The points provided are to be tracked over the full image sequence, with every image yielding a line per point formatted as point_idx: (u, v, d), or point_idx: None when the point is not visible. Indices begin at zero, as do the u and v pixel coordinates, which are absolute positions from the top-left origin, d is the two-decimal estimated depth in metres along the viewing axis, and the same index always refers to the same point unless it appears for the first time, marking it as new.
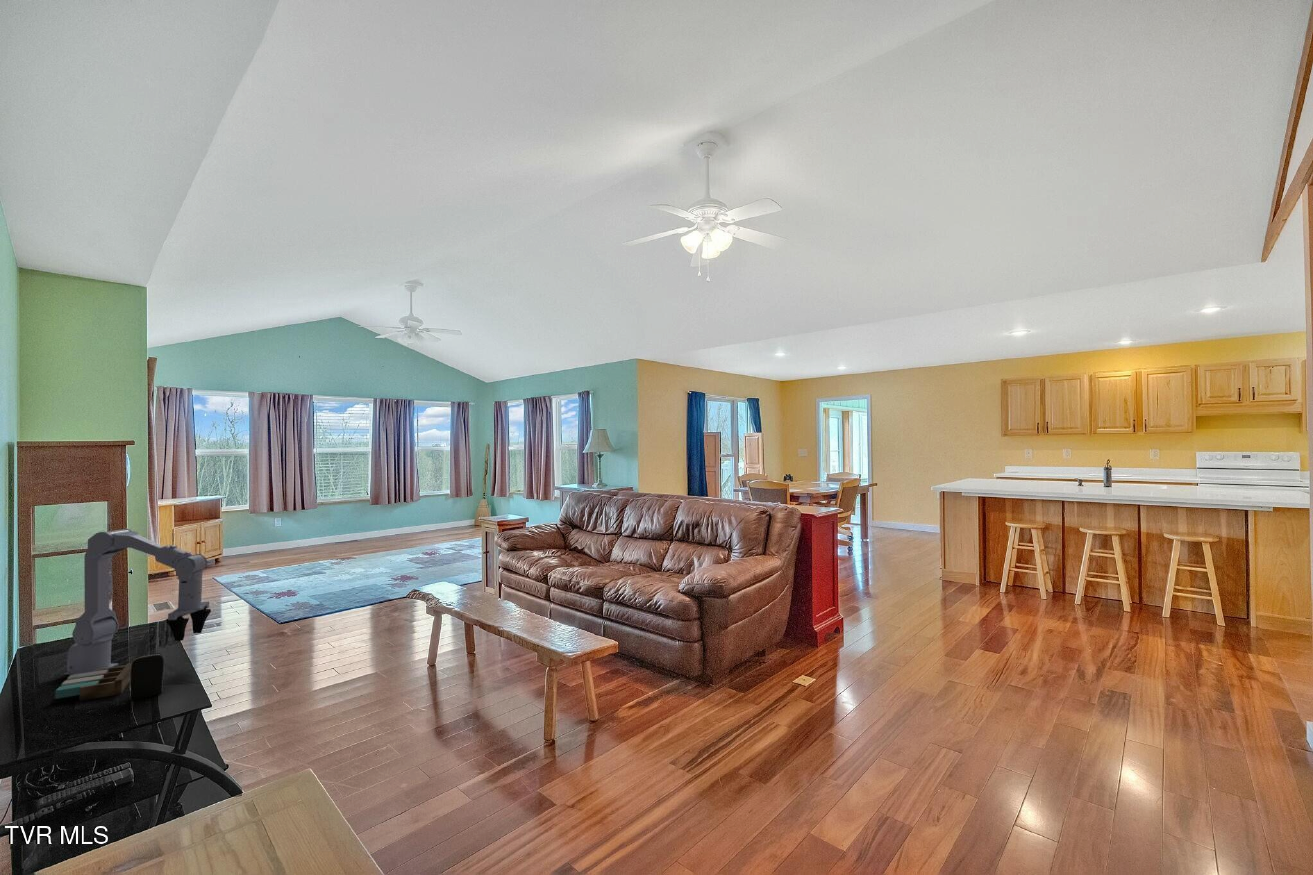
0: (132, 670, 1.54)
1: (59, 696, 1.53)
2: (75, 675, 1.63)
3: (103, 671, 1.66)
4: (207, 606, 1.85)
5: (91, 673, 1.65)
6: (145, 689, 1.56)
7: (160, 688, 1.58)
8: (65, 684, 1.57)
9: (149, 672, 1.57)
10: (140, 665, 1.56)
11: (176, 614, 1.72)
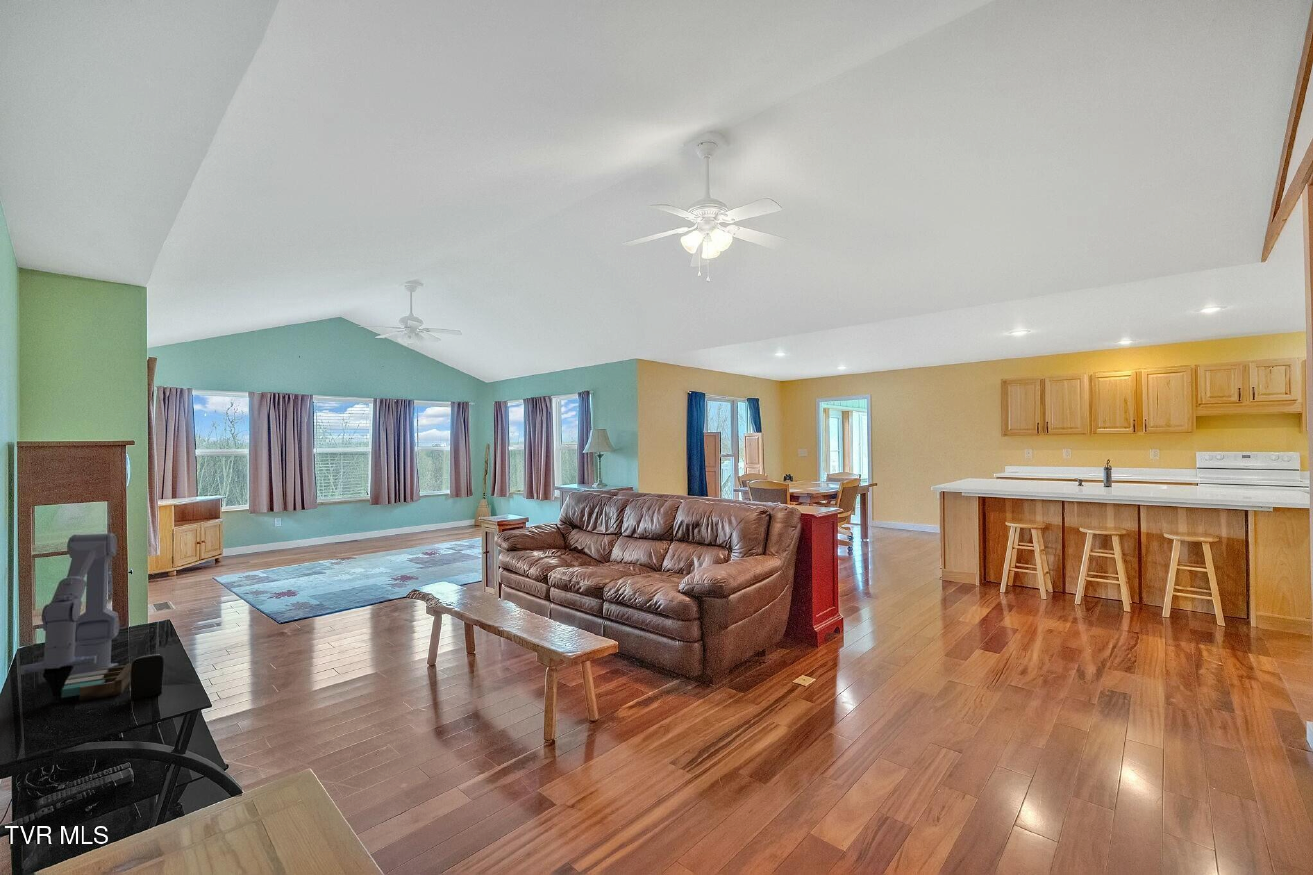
0: (132, 670, 1.54)
1: (65, 695, 1.54)
2: (75, 675, 1.63)
3: (103, 671, 1.66)
4: (90, 662, 1.57)
5: (91, 673, 1.65)
6: (145, 689, 1.56)
7: (160, 688, 1.58)
8: (65, 684, 1.57)
9: (149, 672, 1.57)
10: (140, 665, 1.56)
11: (22, 668, 1.50)
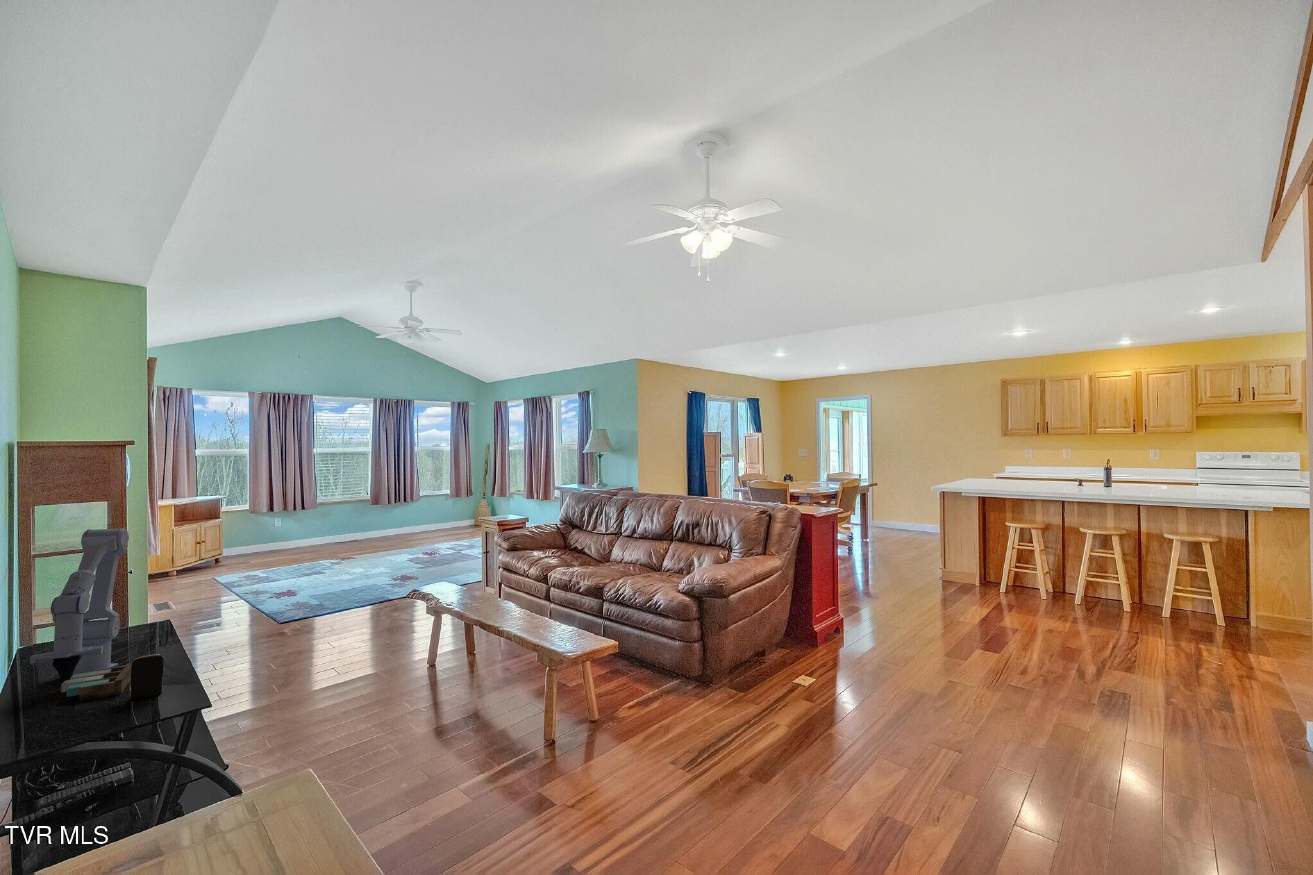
0: (132, 670, 1.54)
1: (70, 694, 1.54)
2: (79, 675, 1.63)
3: (106, 671, 1.67)
4: (97, 652, 1.65)
5: (94, 673, 1.65)
6: (145, 689, 1.56)
7: (160, 688, 1.58)
8: (65, 684, 1.57)
9: (149, 672, 1.57)
10: (140, 665, 1.56)
11: (33, 658, 1.58)
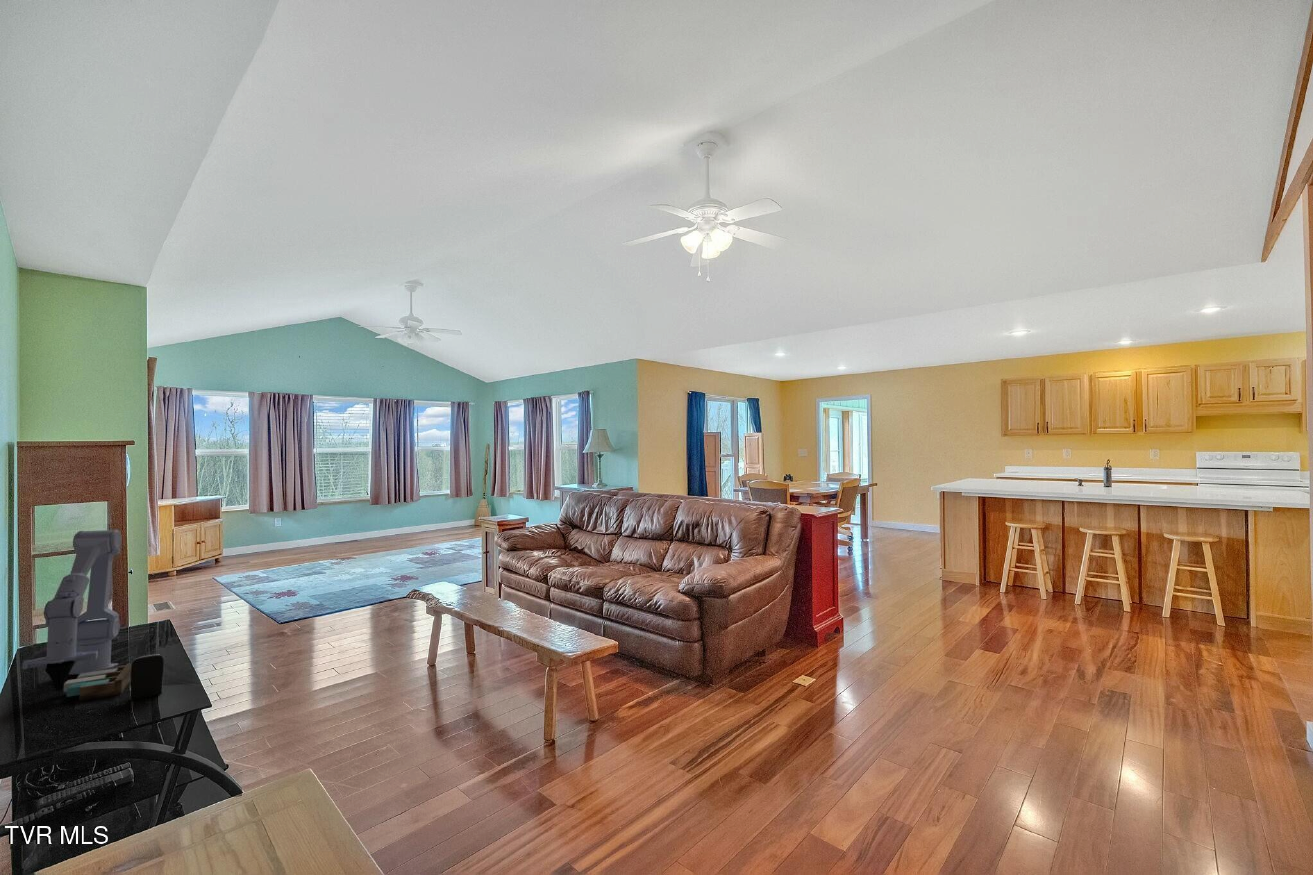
0: (132, 670, 1.54)
1: (70, 694, 1.54)
2: (86, 674, 1.64)
3: (113, 670, 1.68)
4: (92, 658, 1.61)
5: (101, 672, 1.66)
6: (145, 689, 1.56)
7: (160, 688, 1.58)
8: (67, 684, 1.58)
9: (149, 672, 1.57)
10: (140, 665, 1.56)
11: (25, 663, 1.53)
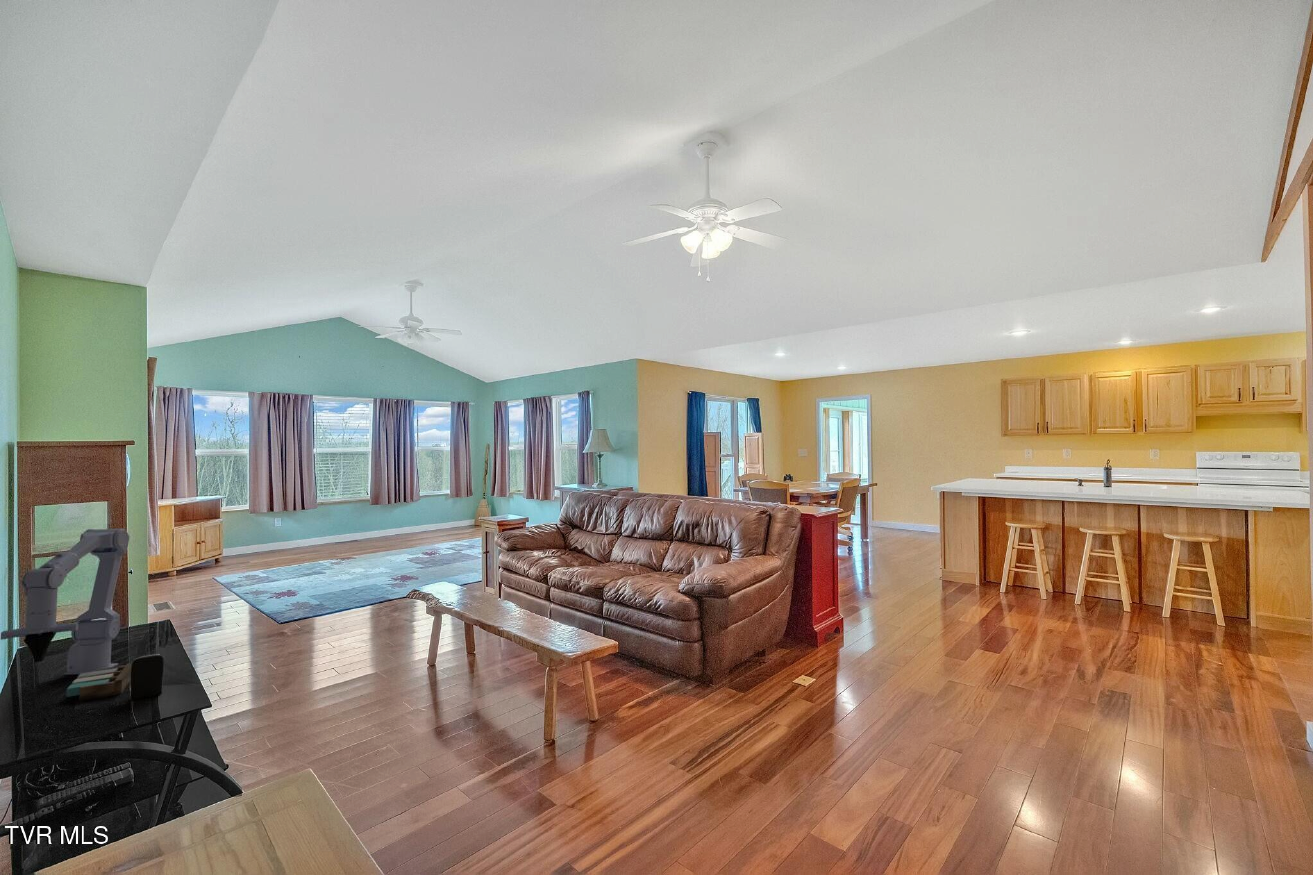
0: (132, 670, 1.55)
1: (70, 694, 1.54)
2: (86, 674, 1.64)
3: (113, 670, 1.68)
4: (72, 629, 1.59)
5: (101, 672, 1.66)
6: (145, 689, 1.56)
7: (160, 688, 1.58)
8: (76, 682, 1.58)
9: (149, 672, 1.57)
10: (140, 665, 1.56)
11: (4, 633, 1.51)
